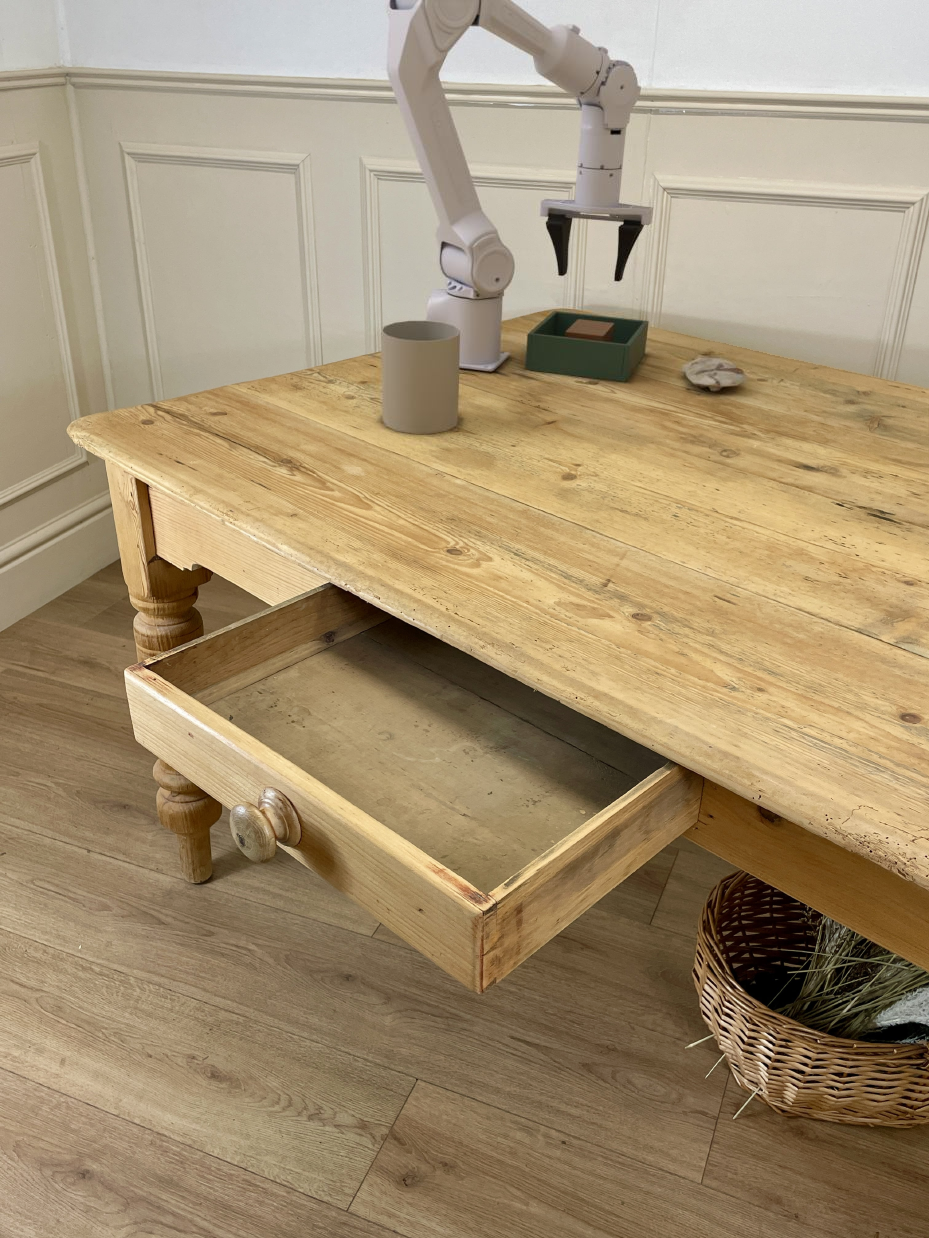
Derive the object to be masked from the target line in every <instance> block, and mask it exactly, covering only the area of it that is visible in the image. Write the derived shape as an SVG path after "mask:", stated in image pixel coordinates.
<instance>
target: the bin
mask: <svg viewBox="0 0 929 1238" xmlns="http://www.w3.org/2000/svg"><path fill="white" fill-rule="evenodd" d="M578 319H581V320H590V321H599V322H608V323H614V333H613V342H603V341H594V340H586V339H577V338H569V337H565V332H566V331H567V330H568V329H569V328H570V327H571V326H572V325H573V324H574V323H575V322H576V321H577V320H578ZM648 330H649V320H643V319H642V320H641V319H633V318H624V317H615V316H607V315H606V316H605V315H599V314H588V313H579V312H570V311H569V312H568V311H560V310H553V311H552V312H551V313H550V314H548V315H547V316H546V317H545V318H544V319H543V320H541V321H540V322H539V323H537V325H536V326H535V327H534V328H532V329H531V330H530V331H529V332H528V333H527V335H526V352H525V368H524V369H525V370H526V371H527V370H528V371H534V372H543V373H550V374H558V375H567V376H575V377H581V378H589V379H590V378H591V379H598V380H606V381H614V382H623V383H626V382H628V379H629V378H630V377H631V375H632V374H633V373H634V371H635V369H636V368H637V367H638V365H639V364H640V363H641V361H642V360H643V358H644V356H646V347H647V341H648V340H647V339H648V332H649V331H648Z"/></svg>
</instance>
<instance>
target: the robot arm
mask: <svg viewBox="0 0 929 1238" xmlns="http://www.w3.org/2000/svg"><path fill="white" fill-rule="evenodd" d="M385 10H386V13H387V17H388V32H387V33H388V34H387V35H388V36H387V49H386V50H387V51H386V52H387V53H386V73H387V78H388V81H389V83H390V86H391V88H392V92H393V94H394V97H395V100H396V102H397V106H398V109H399V111H400V114H401V117H402V120H403V123H404V126H405V128H406V132H407V134H408V136H409V138H410V142H411V145H412V148H413V150H414V154H415V157H416V159H417V162H418V164H419V167H420V170H421V173H422V176H423V179H424V181H425V185H426V188H427V190H428V193H429V196H430V198H431V201H432V204H433V207H434V211H435V213H436V215H437V218H438V221H439V223H438V226H437V228H436V229H435V231H434V235H435V239H436V241H437V246H438V251H437V252H438V253H437V262H438V263H437V264H438V267H439V270H440V272H441V274H442V275H443V276H444V277H445V278H446V288H435V289H433V290H432V291H431V293H430V294H429V297H428V300H427V305H426V311H425V312H426V314H425V315H426V316H425V321H434V322H442V323H446V324H449V325H453V326H455V327H456V328H458V329H459V330H460V358H459V369H467V370H473V371H474V370H475V371H483V372H494V371H495V370H496V369H497V368H498V367H499V366H500V365H502V364H503V363H504V362H505V361H506V360H508V358H510V356H511V355H510V354H511V353H510V352H509V351H501V345H502V324H503V323H502V322H503V301H504V300H503V298H504V296H505V290H507V288H508V287H509V286H510V284H511V282H512V281H513V278H514V275H515V271H516V270H515V269H516V263H515V258H514V255H513V253H512V251H511V250H510V248H508V247H507V245H505V244H504V243H503V241H502V239H501V237H500V235H499V232H498V229H497V227H496V226H495V224H494V223H493V222H492V221H491V220H490V218H489V217H488V216H487V215H486V214H485V212H484V211H483V209H482V205H481V202H480V200H479V196H478V193H477V190H476V187H475V184H474V181H473V178H472V174H471V172H470V168H469V165H468V162H467V159H466V155H465V153H464V150H463V146H462V143H461V141H460V138H459V134H458V131H457V128H456V126H455V121H454V119H453V116H452V113H451V110H450V106H449V104H448V101H447V97H446V94H445V91H444V88H443V85H442V82H441V79H440V71H441V70H442V67H443V65H444V64H445V63H444V62H445V60H446V58H447V56H448V54H449V52H450V51H451V50H452V49H453V48H454V46H455V45H457V43H458V41H460V39H461V38H462V37H463V36H464V35H465V33H466V32H467V31H468V29H470V27H480V28H482V29H484V30H486V31H487V32H489V33H491V34H493V35H494V36H496V37H497V38H500V39H501V40H503V41H505V42H507V43H508V44H510V45H512V46H513V47H515V48H518V49H519V50H521V51H523V52H525V53H526V54H528V55H530V56H532V59H533V60H532V61H533V65H534V69H535V71H536V73H537V74H538V75H540V76H541V77H543V78H544V79H545V80H548V81H549V82H550V83H552V84H554V85H555V86H557V87H558V88H560V89H561V90H563V91H564V92H567V93H568V94H569V95H572V96H573V97H574V100H575V102H576V104H577V105H578V107H579V108H581V113H580V114H581V115H580V129H579V140H578V141H579V142H578V155H577V167H576V179H575V192H574V193H575V194H574V199H552V198H544V199H542V200H540V210H539V216H540V217H542V218H543V217H545V218H547V220H546V221H545V227H546V230H547V233H548V235H549V238H550V241H551V244H552V247H553V249H554V253H555V259H556V265H557V274H558V276H559V277H564V276H565V275H566V274H568V268H569V246H570V245H569V244H570V236H571V230H572V224H573V219H579V220H580V219H581V220H592V221H593V220H594V221H602V222H603V221H604V222H614V223H615V222H616V223H617V222H618V223H622V224H620V225H619V226H618V230H617V233H618V234H617V235H618V236H617V257H616V263H615V269H614V278H613V279H614V280H613V281H614V282H621V281H622V280H623V278H624V273H625V269H626V266H627V263H628V260H629V258H630V255H631V253H632V250H633V248H634V246H635V244H636V242H637V240H638V238H639V236H640V235H641V233H642V231H643V229H644V227H645V226H650V225H651V224H652V223H653V213H654V207H653V206H644V205H636V204H629V203H621V202H620V198H621V197H620V195H621V187H622V175H623V167H624V165H623V164H624V154H625V145H626V134H627V127H628V124H630V121H631V120H630V118H631V113H632V110H633V108H634V107H635V105H636V104H637V102H638V100H639V98H640V94H641V90H642V87H641V86H640V85H639V83H638V82H639V81H638V77H637V73H636V72H635V69H634V67H633V66H632V65H631V64H630V63H629V62H628V61H626V60H622V59H621V60H620V59H611V57H610V56H609V54H608V53H609V50H608V49H607V48H606V47H605V46H602V45H598V46H596V45H594V44H593V43H591V42H590V41H588V40H587V39H585V37H583V36H582V35H579V34H580V32H581V28H580V27H579V26H577V25H576V24H574V23H567V24H562V23H559V24H555V25H553V26H551V27H547V26H546V25H544V24H543V23H542V22H540V21H539V19H537V18H535V17H534V16H533V15H531V14H530V13H528V12H527V11H526V10H525V9H523V8H522V7H521V6H520V5H518V4H516V3H515V2H514V1H513V0H386V2H385Z"/></svg>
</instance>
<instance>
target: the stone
mask: <svg viewBox="0 0 929 1238" xmlns="http://www.w3.org/2000/svg"><path fill="white" fill-rule="evenodd" d="M681 369H682V370H681V374H683V375H686V377H687V379H688V380H689V381H690V382H691V383H692V385H693V386H695V387H698V388H699V387H700V388H701V389H705V388H709V390H710V391H711V392H718V391H720V390H721V389H722V388H727V387H737V386H740V385H742V384H744V383H745V382H746V380H747V375H746V373H745V371H744V369H742V368H740V367H738V366H736V365H735V364H734V362H732V361H730V360H726V359H723V358H721V357H720V356H717V355H706V354H705V355H704V354H703V355H702V354H700V355H698V356H697V357H696V358H695V359H694V360H692V361H689V362H686V363H685V364H684V365H682V367H681Z"/></svg>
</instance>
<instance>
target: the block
mask: <svg viewBox="0 0 929 1238" xmlns="http://www.w3.org/2000/svg"><path fill="white" fill-rule="evenodd" d="M613 333H614V323H608V322H599V321H590V320H581V319H578V320H577V321H576V322H575V323H574V324H573V325H572V326H571V327H570V328H569V329H568V330H567V331H566V332H565V337H569V338H577V339H586V340H594V341H603V342H613Z"/></svg>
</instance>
